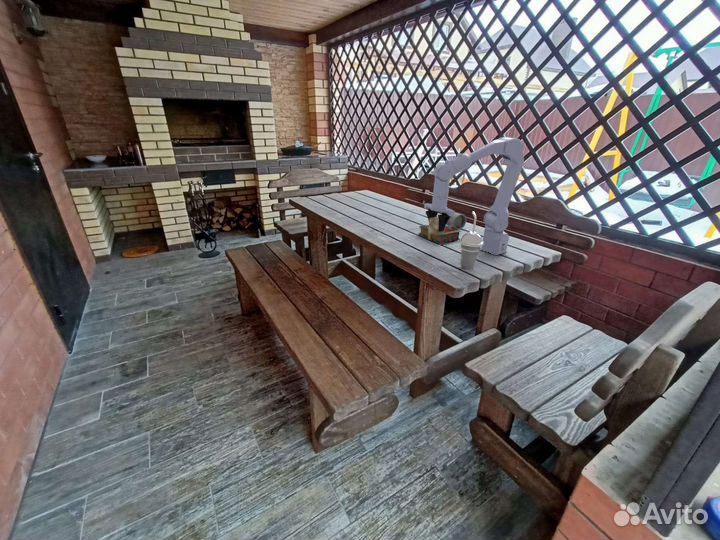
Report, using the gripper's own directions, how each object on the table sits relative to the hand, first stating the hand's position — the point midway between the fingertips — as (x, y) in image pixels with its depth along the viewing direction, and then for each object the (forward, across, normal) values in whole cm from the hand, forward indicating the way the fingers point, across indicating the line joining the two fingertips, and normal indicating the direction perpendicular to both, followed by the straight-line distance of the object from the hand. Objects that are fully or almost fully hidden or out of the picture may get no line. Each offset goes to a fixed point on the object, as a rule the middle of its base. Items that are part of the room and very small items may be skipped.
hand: (436, 229), depth 133 cm
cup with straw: (+9, +19, -2) cm, 21 cm away
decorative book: (+10, -11, +14) cm, 20 cm away
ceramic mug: (+10, -18, +32) cm, 38 cm away
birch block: (+1, 0, 0) cm, 1 cm away
